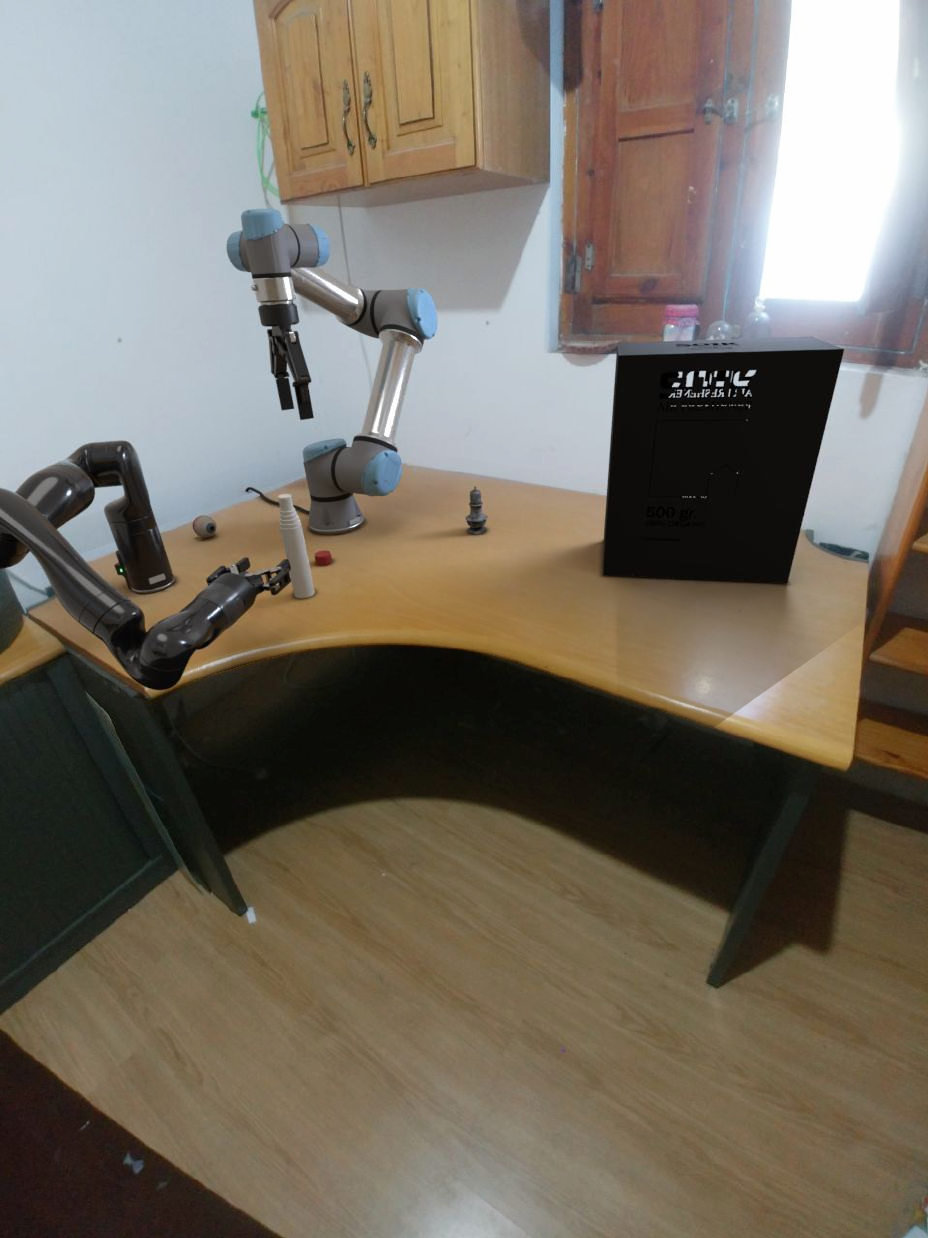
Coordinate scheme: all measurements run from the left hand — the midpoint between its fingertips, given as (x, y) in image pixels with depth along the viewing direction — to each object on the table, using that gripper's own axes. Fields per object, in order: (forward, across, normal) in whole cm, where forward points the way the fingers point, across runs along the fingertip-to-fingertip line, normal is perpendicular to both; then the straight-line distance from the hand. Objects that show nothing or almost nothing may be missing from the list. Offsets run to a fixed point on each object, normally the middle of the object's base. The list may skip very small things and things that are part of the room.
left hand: (267, 562), depth 117 cm
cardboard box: (+37, +83, -13) cm, 92 cm away
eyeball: (+40, -43, -14) cm, 60 cm away
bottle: (+11, 0, -13) cm, 17 cm away
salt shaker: (+51, +31, -14) cm, 61 cm away
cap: (+28, -3, -11) cm, 30 cm away
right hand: (+28, -3, +22) cm, 36 cm away
